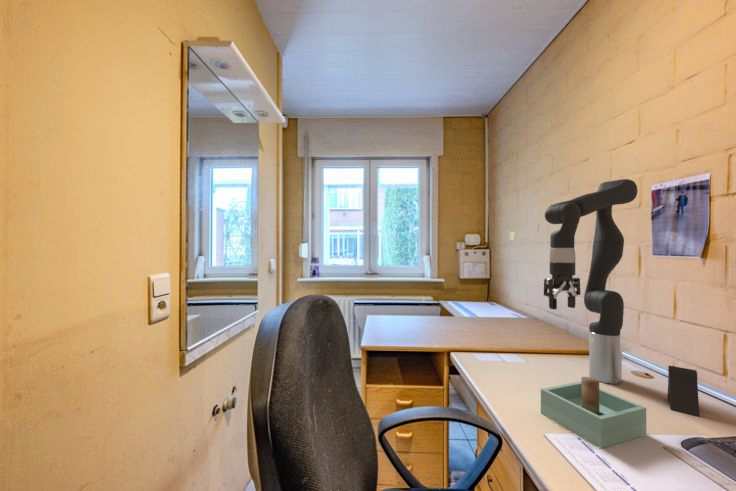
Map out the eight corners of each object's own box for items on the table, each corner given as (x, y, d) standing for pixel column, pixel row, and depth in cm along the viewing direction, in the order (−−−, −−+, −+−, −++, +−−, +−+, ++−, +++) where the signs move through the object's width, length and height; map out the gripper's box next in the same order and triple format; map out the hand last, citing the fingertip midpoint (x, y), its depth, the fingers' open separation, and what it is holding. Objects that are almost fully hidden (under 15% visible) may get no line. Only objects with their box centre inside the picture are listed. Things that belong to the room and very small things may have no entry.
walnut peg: (588, 418, 87) (588, 375, 87) (603, 425, 84) (602, 381, 84) (578, 420, 86) (578, 377, 86) (592, 428, 82) (592, 383, 82)
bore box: (581, 403, 96) (581, 381, 96) (646, 434, 79) (646, 407, 80) (540, 412, 90) (540, 388, 90) (601, 448, 74) (601, 419, 74)
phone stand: (699, 417, 88) (699, 375, 88) (670, 409, 92) (670, 370, 92) (694, 405, 95) (694, 366, 95) (667, 398, 99) (667, 361, 99)
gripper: (567, 260, 111) (567, 305, 111) (537, 260, 106) (537, 307, 106) (587, 261, 104) (587, 309, 104) (556, 261, 99) (556, 311, 99)
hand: (562, 308), depth 105 cm, fingers open, 8 cm apart
